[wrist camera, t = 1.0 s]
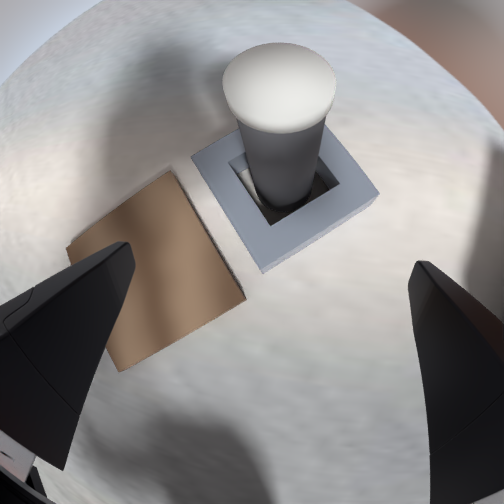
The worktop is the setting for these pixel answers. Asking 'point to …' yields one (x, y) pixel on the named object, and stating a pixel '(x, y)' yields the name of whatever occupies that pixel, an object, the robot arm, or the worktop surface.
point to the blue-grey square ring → (297, 223)
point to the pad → (161, 271)
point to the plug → (280, 117)
